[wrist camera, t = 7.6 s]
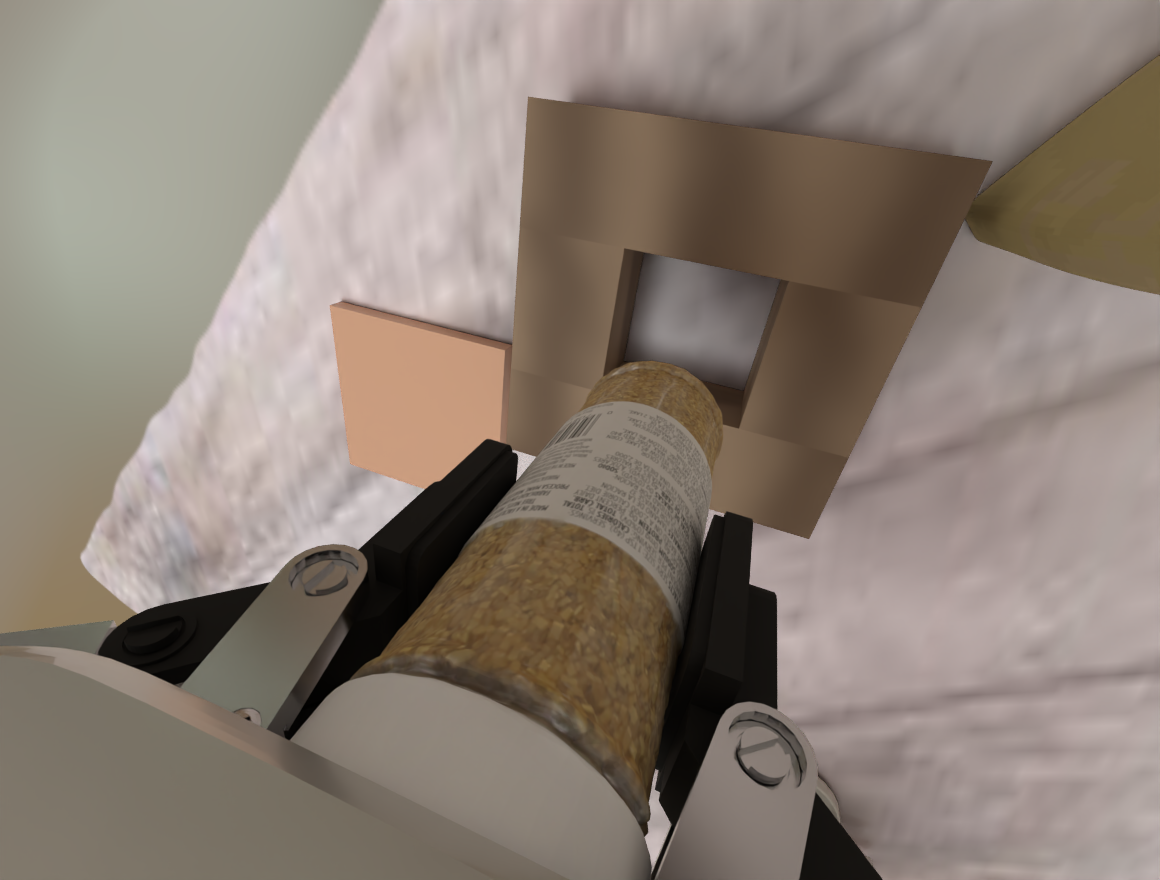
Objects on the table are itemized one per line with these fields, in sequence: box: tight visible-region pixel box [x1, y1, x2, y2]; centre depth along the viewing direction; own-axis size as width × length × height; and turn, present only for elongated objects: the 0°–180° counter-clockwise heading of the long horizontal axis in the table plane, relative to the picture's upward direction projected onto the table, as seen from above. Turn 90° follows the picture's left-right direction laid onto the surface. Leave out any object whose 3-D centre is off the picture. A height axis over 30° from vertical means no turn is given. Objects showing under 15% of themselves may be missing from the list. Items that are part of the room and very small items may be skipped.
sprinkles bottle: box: [290, 361, 723, 880], centre depth 10 cm, size 5×5×14 cm
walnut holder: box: [506, 97, 993, 539], centre depth 24 cm, size 16×16×4 cm
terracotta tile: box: [330, 302, 512, 489], centre depth 34 cm, size 12×12×1 cm
